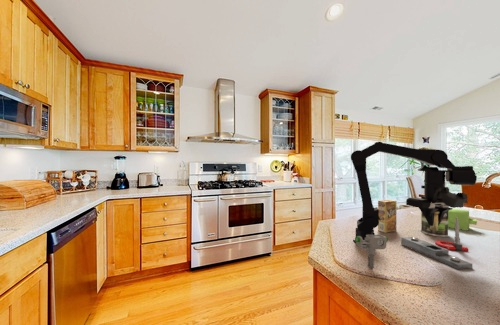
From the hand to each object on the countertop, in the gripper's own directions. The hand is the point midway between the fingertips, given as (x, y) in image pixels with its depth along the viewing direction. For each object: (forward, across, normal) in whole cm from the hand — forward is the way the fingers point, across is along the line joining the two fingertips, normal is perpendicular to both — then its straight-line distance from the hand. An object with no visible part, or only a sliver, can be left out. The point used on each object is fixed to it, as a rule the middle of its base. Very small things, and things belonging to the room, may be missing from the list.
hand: (433, 225), depth 76 cm
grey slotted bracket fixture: (+11, 0, 0) cm, 11 cm away
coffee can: (+11, +27, +22) cm, 36 cm away
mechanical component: (+11, -30, -4) cm, 32 cm away
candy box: (+11, +6, +28) cm, 30 cm away
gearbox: (+11, +49, +30) cm, 58 cm away
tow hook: (+12, +16, +6) cm, 21 cm away
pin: (+2, 0, 0) cm, 2 cm away
